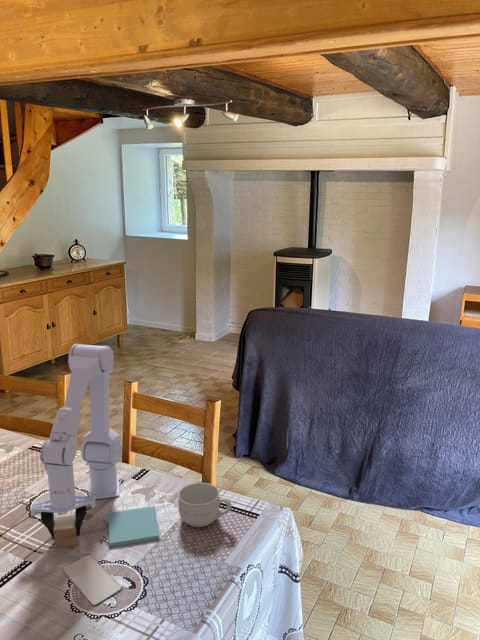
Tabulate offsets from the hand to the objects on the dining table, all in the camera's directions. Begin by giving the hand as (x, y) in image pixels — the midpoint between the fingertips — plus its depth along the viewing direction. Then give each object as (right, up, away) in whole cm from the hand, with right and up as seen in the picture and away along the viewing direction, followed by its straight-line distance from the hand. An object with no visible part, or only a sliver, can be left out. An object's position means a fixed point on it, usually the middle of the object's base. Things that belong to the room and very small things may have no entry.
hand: (66, 535), depth 125 cm
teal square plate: (+15, 0, +5) cm, 16 cm away
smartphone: (+10, -5, -12) cm, 16 cm away
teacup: (+33, 0, +8) cm, 34 cm away
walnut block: (0, -1, 0) cm, 1 cm away
